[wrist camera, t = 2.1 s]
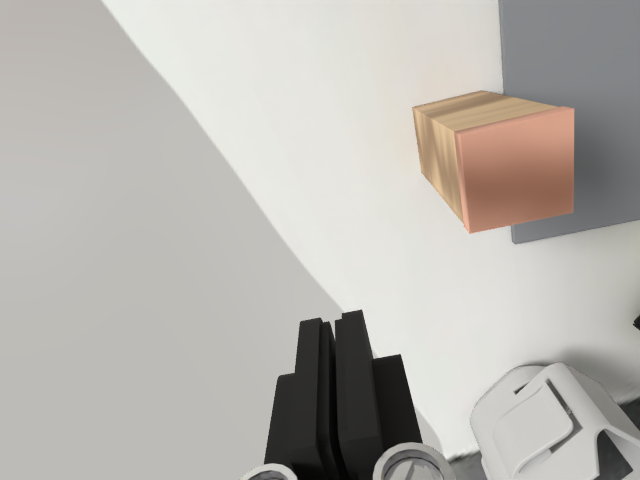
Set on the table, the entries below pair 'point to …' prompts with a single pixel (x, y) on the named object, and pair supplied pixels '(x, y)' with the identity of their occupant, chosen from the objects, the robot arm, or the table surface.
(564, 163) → the oak block
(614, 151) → the rubber mat
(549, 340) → the table surface
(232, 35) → the table surface
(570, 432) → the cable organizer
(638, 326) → the tape measure
